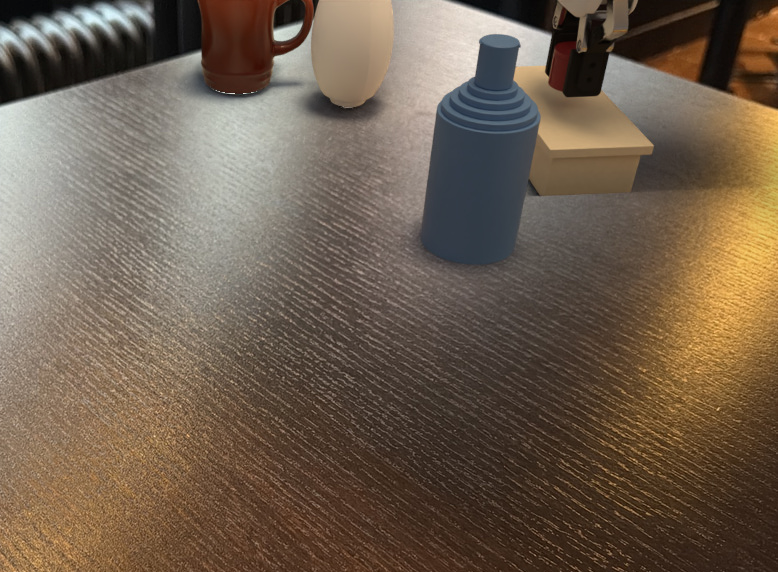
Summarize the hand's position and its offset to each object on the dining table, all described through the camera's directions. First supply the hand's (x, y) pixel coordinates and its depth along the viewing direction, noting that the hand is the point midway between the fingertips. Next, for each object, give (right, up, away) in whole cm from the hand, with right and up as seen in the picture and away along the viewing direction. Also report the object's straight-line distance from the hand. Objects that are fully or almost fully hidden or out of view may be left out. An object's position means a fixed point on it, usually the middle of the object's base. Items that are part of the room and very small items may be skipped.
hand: (571, 83), depth 88 cm
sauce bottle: (-18, +2, +13) cm, 23 cm away
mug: (-28, +5, +17) cm, 33 cm away
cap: (0, 0, 0) cm, 0 cm away
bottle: (-12, -17, -10) cm, 23 cm away
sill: (0, -5, +4) cm, 7 cm away
